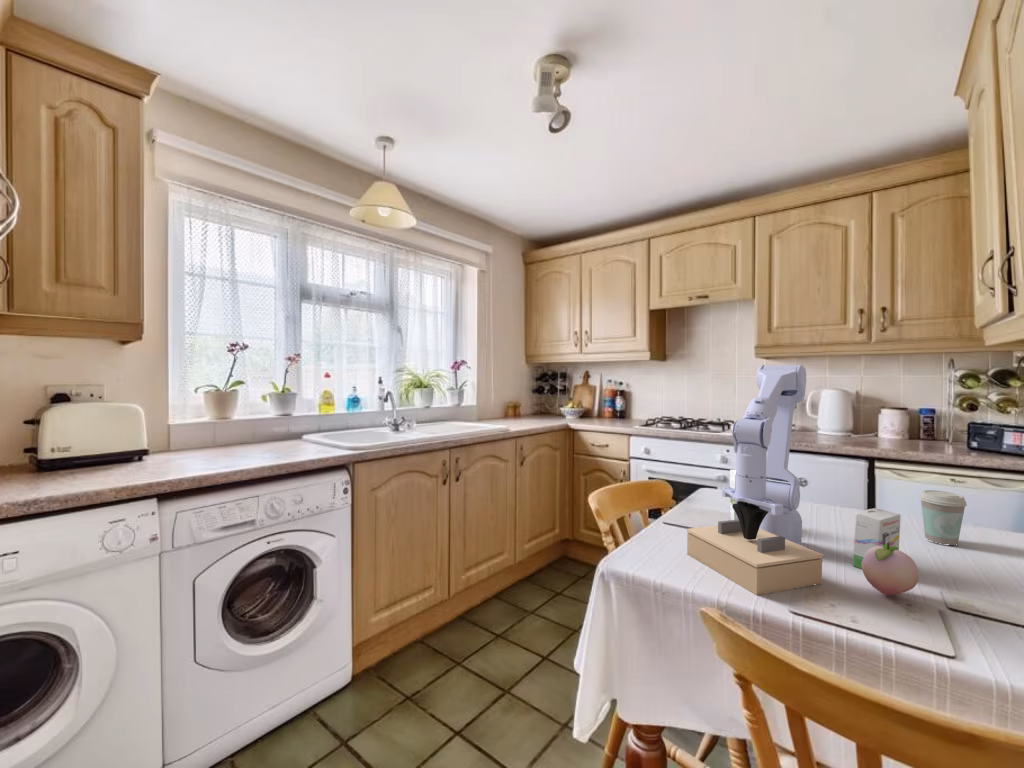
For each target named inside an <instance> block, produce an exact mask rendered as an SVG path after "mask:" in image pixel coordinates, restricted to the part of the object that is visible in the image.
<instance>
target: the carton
mask: <svg viewBox="0 0 1024 768" xmlns="http://www.w3.org/2000/svg"><path fill="white" fill-rule="evenodd" d="M686 533H687V539H686V540H687V541H686V544H687V547H686V548H687V549H686V555H687V556H690V557H691V558H693V559H695V560H697V561H698V562H699V563H701V564H702V565H703V564H704V565H705V566H706V567H708V568H710V569H712V570H713V571H715V572H716V573H718V574H720V575H722V576H723V577H725V578H727V579H728V580H730V581H732V582H734V583H735V584H737V585H738V586H740V587H742V588H744V589H745V590H747V591H748V592H750V593H752V594H754V595H755V596H760V595H767V594H773V593H777V592H784V591H788V590H790V591H791V590H795V589H794V588H797V589H799V588H798V587H802V588H805V587H804V586H808V587H810V586H809V585H814V584H820V585H822V584H823V582H822V581H823V580H822V579H823V578H822V577H823V576H822V575H823V558H818V559H811V560H804V561H797V562H791V563H784V564H777V565H770V566H764V567H757V568H756V567H754V566H752V565H750V564H748V563H747V562H745V561H743V560H741V559H739V558H737V557H735V556H733V555H731V554H729V553H727V552H725V551H723V550H722V549H720V548H718V547H716V546H714V545H712V544H710V543H708V542H706V541H704V540H702V539H700V538H698V537H696V536H695V535H693V534H691V533H689V532H686ZM821 583H822V584H821ZM814 586H815V585H814Z"/></svg>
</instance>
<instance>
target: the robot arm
mask: <svg viewBox="0 0 1024 768" xmlns="http://www.w3.org/2000/svg"><path fill="white" fill-rule="evenodd" d="M755 376H756V384H757V387H758V390H759V392H758V394H757V397H754V398H753V399H751V400H750V401H749V403H748V406H747V408H746V409H745V411H744V414H743V415H742V418H739V419H738V420H736V421H734V422H733V425H732V431H731V437H732V441H733V452H734V453H735V454H736V456H735V470H736V489H734V488H730V486H727V487H725V486H724V487H722V488H721V496H722V497H724V498H729V499H730V498H732V499H733V500H736V501H738V502H737V504H733V505H732V507H733V509H734V511H735V512H736V514H737V516H738V519H739V522H740V525H741V529H742V533H743V536H744V538H745V539H748V540H752V539H756V537H757V533H758V530H759V528H760V529H762V530H764V531H767V532H769V533H772V534H774V535H777V536H782V537H785V539H786V540H789V541H791V542H793V543H796V544H798V545H801V546H803V547H806V546H805V545H804V544H803V542H802V541H803V520H802V519H803V518H802V516H801V514H800V513H799V511H798V510H797V509H798V508H799V506H800V500H801V490H800V488H801V487H800V486H801V484H800V483H801V482H800V479H799V478H798V476H796V475H795V474H794V473H792V472H791V471H790V470H789V468H788V467H789V457H790V449H791V439H792V428H793V419H794V413H795V412H794V411H795V408H796V405H797V404H798V403H800V402H802V401H804V398H805V396H806V389H807V388H806V386H807V370H806V367H805V366H804V365H803V364H797V365H787V364H784V365H765V364H761V365H760V366H759V367H758V368H757V371H756V375H755Z"/></svg>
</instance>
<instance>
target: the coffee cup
mask: <svg viewBox="0 0 1024 768" xmlns="http://www.w3.org/2000/svg"><path fill="white" fill-rule="evenodd" d="M919 500H920V503H921V513H922V521H923V529H924V537H925V538H927V539H928V540H931V541H933V542H937V543H941V544H949V545H956V544H959V539H960V534H961V530H962V525H963V524H962V523H963V518H964V513H965V510H966V509H965V507H967V506H968V504H967V501H966V499H965V496H963V495H961V494H957V493H954V492H950V491H944V490H943V491H941V490H934V489H933V490H932V489H925V490H923V491H921V494H920V495H919Z"/></svg>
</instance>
